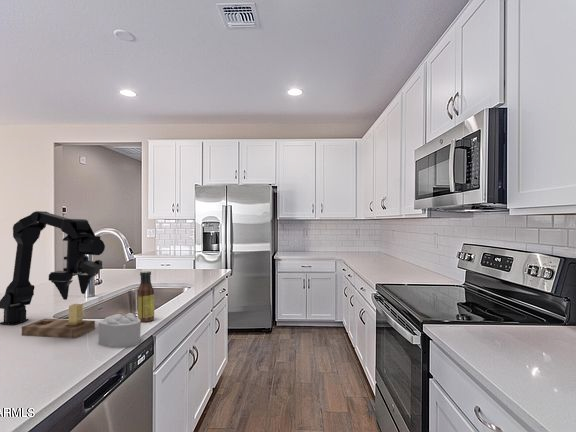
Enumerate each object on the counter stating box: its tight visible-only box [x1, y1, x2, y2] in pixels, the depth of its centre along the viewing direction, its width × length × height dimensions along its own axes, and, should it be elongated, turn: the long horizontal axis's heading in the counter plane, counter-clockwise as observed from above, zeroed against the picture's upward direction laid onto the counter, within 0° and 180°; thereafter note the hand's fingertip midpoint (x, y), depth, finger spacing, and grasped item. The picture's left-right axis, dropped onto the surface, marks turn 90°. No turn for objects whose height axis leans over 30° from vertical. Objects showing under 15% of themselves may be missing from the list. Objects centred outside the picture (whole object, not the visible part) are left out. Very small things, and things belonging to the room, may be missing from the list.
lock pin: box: [68, 303, 84, 327], centre depth 122 cm, size 3×3×10 cm
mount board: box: [21, 318, 96, 339], centre depth 123 cm, size 20×10×3 cm, turn 85°
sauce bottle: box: [137, 270, 155, 323], centre depth 139 cm, size 7×6×20 cm
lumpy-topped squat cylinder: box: [98, 312, 142, 349], centre depth 115 cm, size 10×13×9 cm
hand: (74, 296), depth 124 cm, fingers open, 9 cm apart
